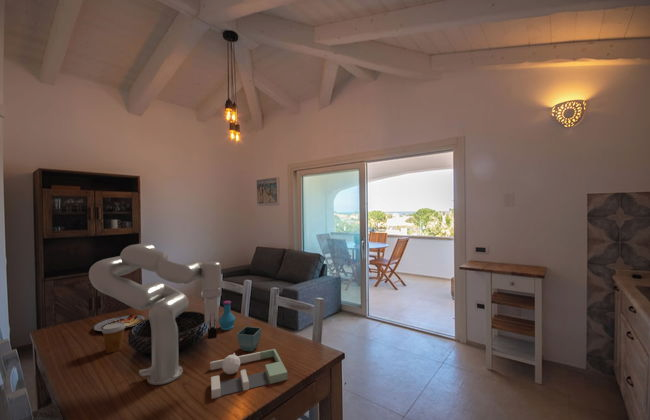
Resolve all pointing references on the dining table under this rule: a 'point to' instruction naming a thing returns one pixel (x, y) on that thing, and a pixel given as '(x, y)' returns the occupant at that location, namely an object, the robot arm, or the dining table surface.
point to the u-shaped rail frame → (245, 382)
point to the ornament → (231, 364)
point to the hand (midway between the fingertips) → (212, 337)
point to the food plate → (128, 321)
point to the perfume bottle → (227, 317)
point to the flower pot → (249, 338)
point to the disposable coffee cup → (113, 336)
